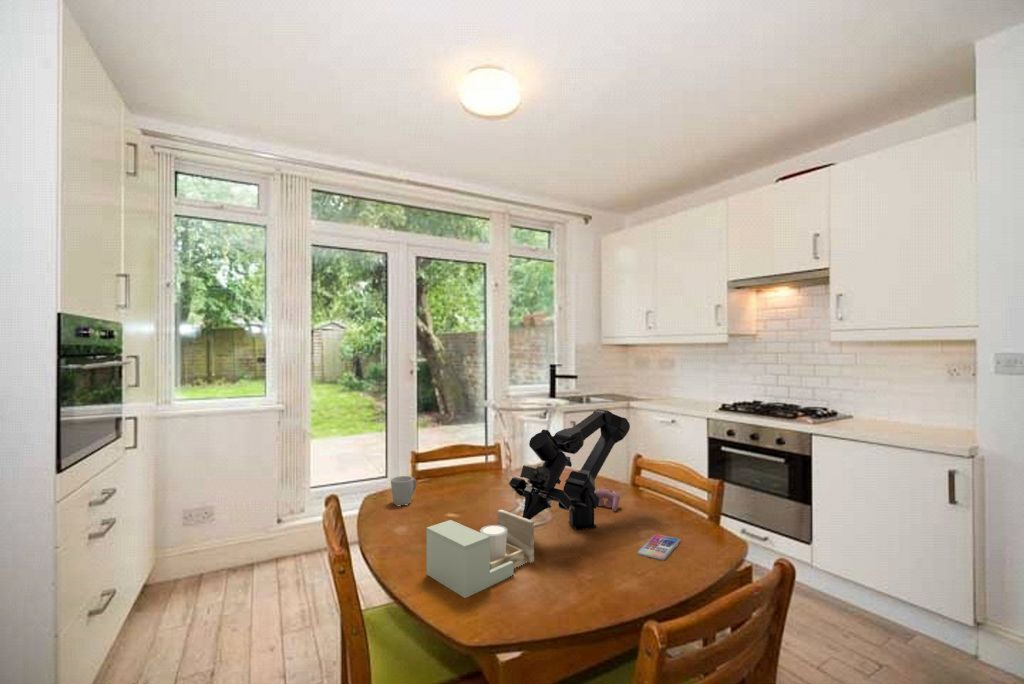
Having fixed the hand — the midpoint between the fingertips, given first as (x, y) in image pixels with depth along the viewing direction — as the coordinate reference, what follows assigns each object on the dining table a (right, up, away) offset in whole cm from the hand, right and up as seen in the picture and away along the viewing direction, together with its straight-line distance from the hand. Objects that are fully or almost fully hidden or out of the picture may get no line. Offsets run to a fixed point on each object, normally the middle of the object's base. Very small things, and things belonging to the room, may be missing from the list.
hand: (523, 521), depth 122 cm
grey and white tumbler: (-8, -6, -8) cm, 12 cm away
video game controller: (+27, -8, +32) cm, 43 cm away
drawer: (-7, -8, -7) cm, 12 cm away
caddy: (-13, -8, -13) cm, 20 cm away
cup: (-40, -9, +39) cm, 57 cm away
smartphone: (+36, -8, +1) cm, 37 cm away
